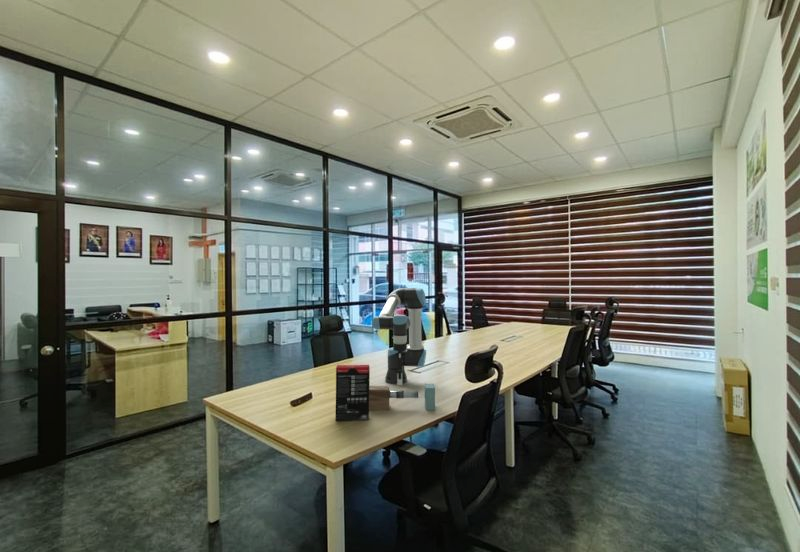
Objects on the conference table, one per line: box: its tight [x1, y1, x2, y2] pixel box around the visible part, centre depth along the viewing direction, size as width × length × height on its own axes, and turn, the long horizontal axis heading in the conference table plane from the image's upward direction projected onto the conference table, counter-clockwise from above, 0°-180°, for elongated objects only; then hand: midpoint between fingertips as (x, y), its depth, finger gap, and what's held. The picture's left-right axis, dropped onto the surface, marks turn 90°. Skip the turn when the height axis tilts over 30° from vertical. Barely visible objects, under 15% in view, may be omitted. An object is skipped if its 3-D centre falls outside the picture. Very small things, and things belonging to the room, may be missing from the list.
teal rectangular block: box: [424, 383, 436, 411], centre depth 201 cm, size 8×5×12 cm, turn 0°
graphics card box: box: [335, 364, 371, 422], centre depth 185 cm, size 17×7×27 cm, turn 96°
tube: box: [389, 389, 419, 399], centre depth 201 cm, size 26×4×4 cm, turn 90°
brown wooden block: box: [369, 385, 390, 411], centre depth 201 cm, size 7×12×11 cm, turn 90°
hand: (399, 381), depth 201 cm, fingers open, 13 cm apart
